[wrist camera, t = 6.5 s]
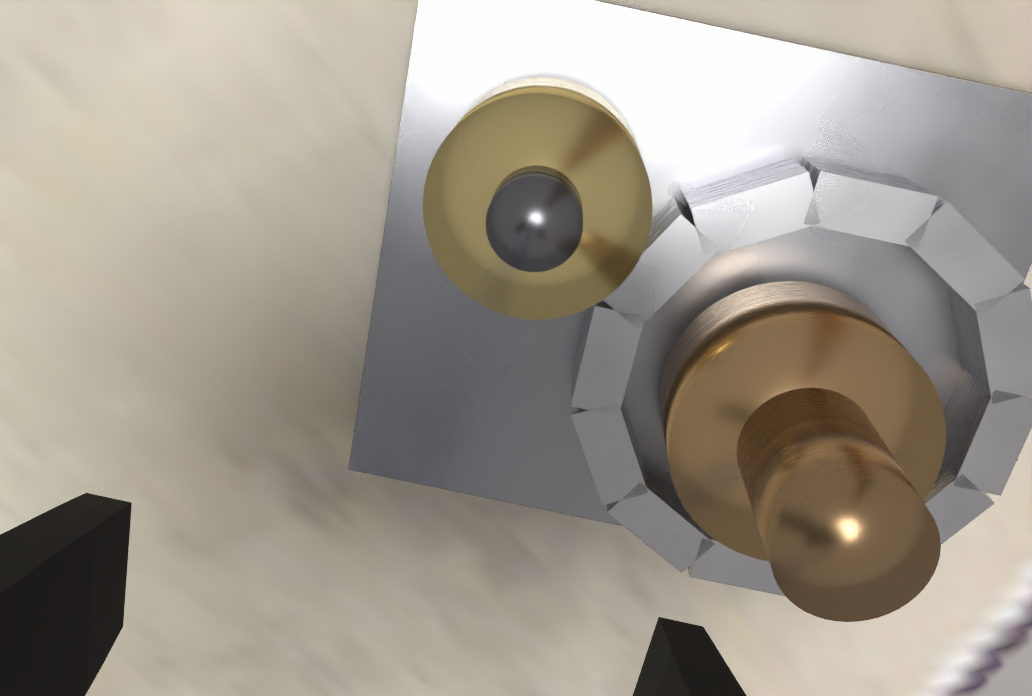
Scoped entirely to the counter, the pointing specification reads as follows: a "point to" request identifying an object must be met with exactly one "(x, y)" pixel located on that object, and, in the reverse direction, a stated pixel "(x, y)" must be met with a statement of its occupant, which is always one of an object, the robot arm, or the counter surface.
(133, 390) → the counter surface
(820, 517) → the gear
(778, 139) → the carrier
